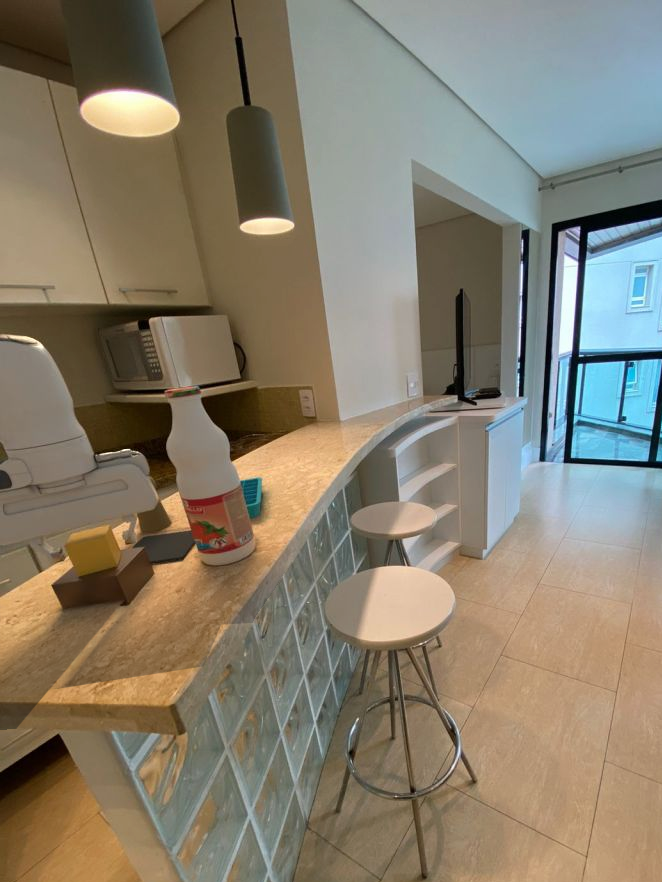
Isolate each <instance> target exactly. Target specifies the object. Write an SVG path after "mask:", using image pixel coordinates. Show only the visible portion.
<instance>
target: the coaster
mask: <svg viewBox="0 0 662 882" xmlns="http://www.w3.org/2000/svg"><path fill="white" fill-rule="evenodd" d="M194 545H196V543H195V540H194V537H193V534H192V531H191V529H189V530H181V531H175V532H167V533H161V534H160V533H159V534H151V535H145V536H142V537H141V538H140V539H139V540H137V542H136V543H134V545H133V546H132V547H131V548H138V547H145V549H146V552H147V555H148V557H149V560H150V563H151V565H154V564H162V563H168V562H177V561H183V560H184V559H185V558H186V557H187V556H188V554H189V552H190V551H191V550H192V548H193V547H194Z"/></svg>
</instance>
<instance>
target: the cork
mask: <svg viewBox="0 0 662 882" xmlns="http://www.w3.org/2000/svg"><path fill="white" fill-rule="evenodd" d="M148 476H149V478H150V480H151V482H152V484H153V486H154V488H155V490H156V488H157V483H156V481H155V479H154V478H153V477H152V476H150V475H148ZM137 516H138V517H137V521H138V525H139V530H140V532H141V533H144V534H145V533H146V534H147V533H154V532H158V531H162V530H164V529H166V528H168V527H170V526H171V525H172V519H171V518H170V517H169V515H168V513H167V510H166V509H165V507H164V505H163V502H162V501H161V499H160V497H159V496H158V504H157V505H156V507H155V509H153V510H150V511H146V512H141V513H137Z"/></svg>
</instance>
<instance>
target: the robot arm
mask: <svg viewBox="0 0 662 882" xmlns="http://www.w3.org/2000/svg"><path fill="white" fill-rule="evenodd" d="M0 444H2V447H3V449H4V451H5V453H6V455H7V460H6V459H3V460H1V461H0V546H2V547H4V546H7V545H11V544H16V543H20V542H25V541H27V542H28V544H29V546H30V548H32V549H34V550H36V551H37V552H39V553H41V554H42V555H45V556H46V557H47V559H48V561H49V564H50V565H56V564H59V563H62V562H65V560H66V559H67V557H66V554H65V553H64V550H63V547H62V546H59V547H53V546H52V545H51V544H49V543H48V542H46V541H45V540H46V539H47V536H49V535H54V534H58V533H62V532H66V531H71V530H75V529H78V528H82V527H87V526H91V525H96V524H100V523H105V522H108V521H112V520H117V519H121V518H123V520H124V521H125V523H127V524H128V523H129V528H128V529H125V530H123V531H122V534H121V538H122V539H123V540H124V544H125V545H126V546H127V545H132V544H136V543H137V542H138V536H137V533H136V531H135V528H136V524H137V521H138V516H137V513H141V512H146V511H150V510H153V509H155V507H156V505H157V504H158V497H159V495H158V493H157V490H156V489H155V488H154V486H153V484H152V482H151V480H150V478H149V476H150V472H151V470H150V465H149V462H148V459H147V457H146V456H145V455H144V454H143V453H141V452H139V451H136V450H131V449H130V448H126V449H121V450H119V451H113V452H105V453H97V454H95V452H94V449H93V447H92V445H91V442H90V440H89V438H88V435H87V433H86V430H85V429H84V427H83V426H82V425H81V424H80V423H79V421H78V419H77V417H76V413H75V407H74V401H73V398H72V396H71V393H70V391H69V388H68V386H67V383H66V381H65V379H64V377H63V375H62V373H61V371H60V369H59V367H58V365H57V363H56V362H55V360H54V358H53V356H52V355H51V354H50V352H49V351H48V349H47V348H46V347H45V346H44V345H43V343H41V342H40V341H39V340H37V339H35V338H32V337H30V336H26V335H19V334H9V333H8V334H6V333H2V334H0Z"/></svg>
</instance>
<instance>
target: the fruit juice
mask: <svg viewBox="0 0 662 882" xmlns="http://www.w3.org/2000/svg"><path fill="white" fill-rule="evenodd" d="M164 396H165V399H166V402H167V403H169V405H170V408H171V416H172V419H171V420H172V422H171V423H172V425H171V431H170V433H169V436H168V437H167V441H166V444H165V445H166V446H165V449H166V452H167V453H166V454H167V456H168V458H169V460H170V462H171V463H172V465H173V466H174V468H175V470H176V476H175V482H176V486H177V487H176V488H177V490H178V494H179V497H180V499H181V503H182V506H183V509H184V512H185V515H186V518H187V522H188V525H189V527H190V530H191V531H192V534H193V537H194V540H195V546H196V549H197V553H198V556H199V557H200V560H201V561H202V563H204V564H205V565H209V566H225V565H229V564H234V563H237V562H239V561H241V560H244V559H245V558H247V557H249V556H250V555H252V553H253V552H254V551H255V550H256V546H257V545H256V537H255V534H254V530H253V526H252V522H251V518H249V514H248V510H247V506H246V503H245V499H244V495H243V491H242V487H241V483H240V480H241V479H240V475H239V473H238V470H237V468H236V466H235V465H234V463H233V462H232V460H231V457H230V455H231V445H230V441H229V438H228V436H227V434H226V433H225V432H224V430H222V428H221V427H218V425H216V424H215V423H214V422H213V421H212V419H211V418H210V415H208V413H207V412H206V409H205V407H204V405H203V403H202V398H203V396H202V390H201V388H200V386H198V385H195V386H194V385H193V386H184V387H178V388H172V389H166V390H164Z"/></svg>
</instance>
